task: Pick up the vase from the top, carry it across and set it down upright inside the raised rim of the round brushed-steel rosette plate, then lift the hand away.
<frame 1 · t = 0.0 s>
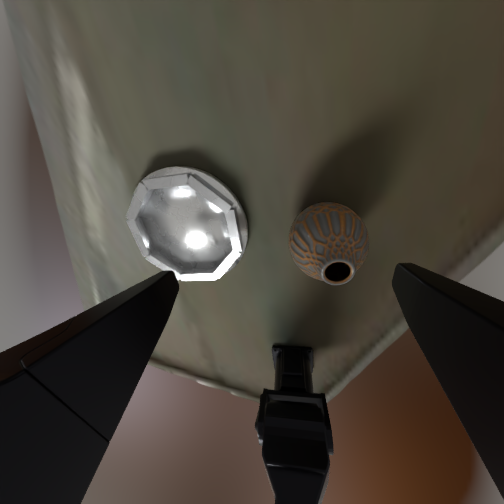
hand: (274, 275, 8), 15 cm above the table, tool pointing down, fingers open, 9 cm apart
vase: (320, 225, 22), on the table
rosette plate: (191, 227, 25), on the table
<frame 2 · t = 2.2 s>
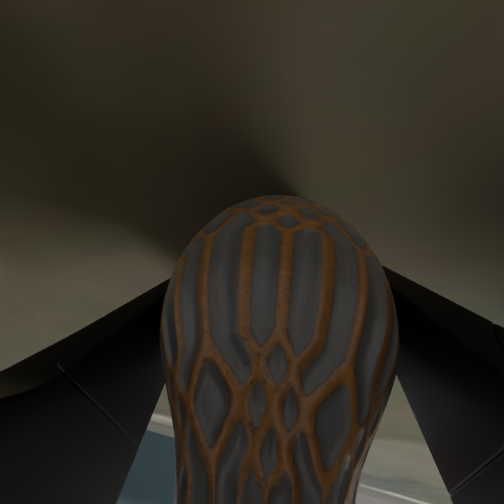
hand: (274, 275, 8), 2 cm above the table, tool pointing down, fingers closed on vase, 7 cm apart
vase: (277, 247, 10), on the table, touching gripper
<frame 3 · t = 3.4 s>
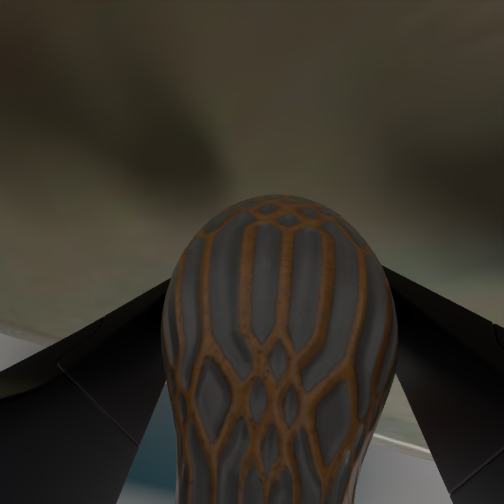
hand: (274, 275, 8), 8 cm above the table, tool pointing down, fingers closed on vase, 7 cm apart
vase: (277, 246, 10), point 6 cm above the table, touching gripper
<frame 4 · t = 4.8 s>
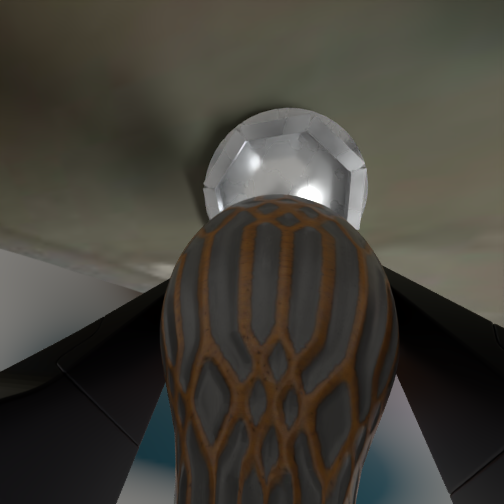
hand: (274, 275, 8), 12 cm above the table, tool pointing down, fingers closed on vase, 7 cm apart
vase: (277, 246, 10), point 10 cm above the table, touching gripper
rosette plate: (281, 201, 19), on the table
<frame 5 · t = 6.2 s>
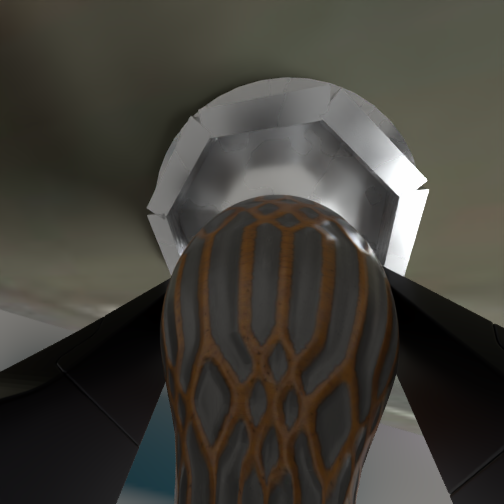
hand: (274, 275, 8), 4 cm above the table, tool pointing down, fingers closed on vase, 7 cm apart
vase: (277, 247, 10), point 2 cm above the table, touching gripper
rosette plate: (275, 231, 12), on the table
when the fingers open (4 cm above the table, at t = 7.2 s): vase stays where it is, resting on rosette plate.
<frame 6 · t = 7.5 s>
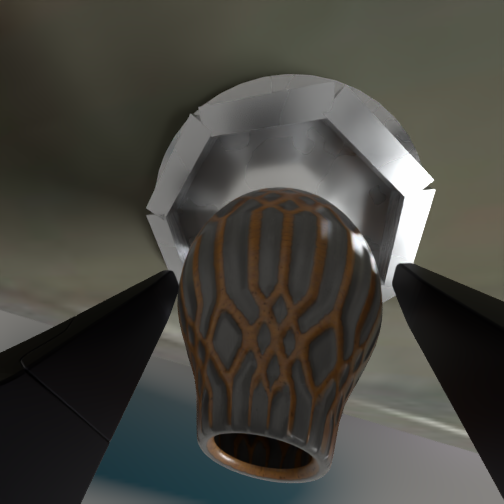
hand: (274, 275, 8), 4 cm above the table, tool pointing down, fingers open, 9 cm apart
vase: (279, 238, 11), point 1 cm above the table, touching rosette plate
rosette plate: (277, 232, 12), on the table
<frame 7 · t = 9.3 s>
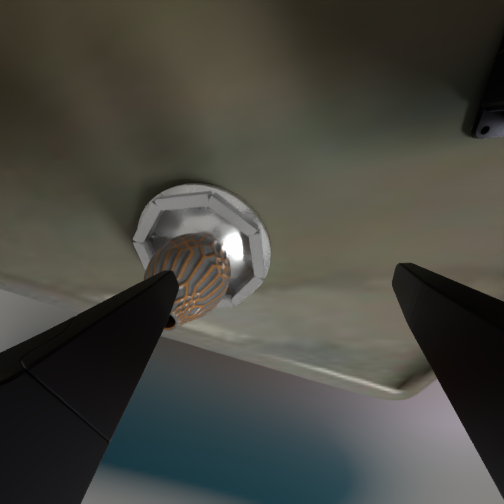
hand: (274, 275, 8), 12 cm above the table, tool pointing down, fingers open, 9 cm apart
vase: (204, 253, 21), point 1 cm above the table, touching rosette plate
rosette plate: (206, 249, 22), on the table
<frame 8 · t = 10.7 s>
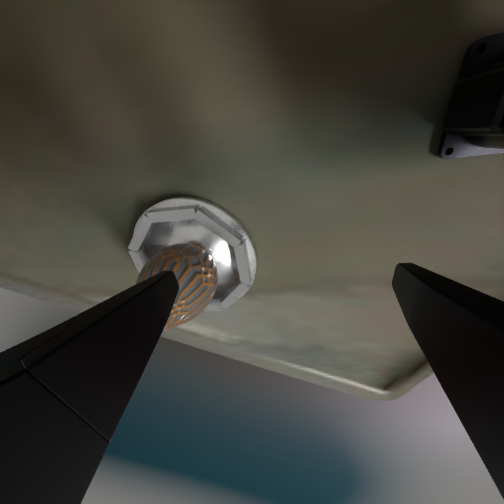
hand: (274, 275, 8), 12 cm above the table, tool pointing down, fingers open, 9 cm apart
vase: (195, 260, 23), point 1 cm above the table, touching rosette plate
rosette plate: (196, 256, 23), on the table
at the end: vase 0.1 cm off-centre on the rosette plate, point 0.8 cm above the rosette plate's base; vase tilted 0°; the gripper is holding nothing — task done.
